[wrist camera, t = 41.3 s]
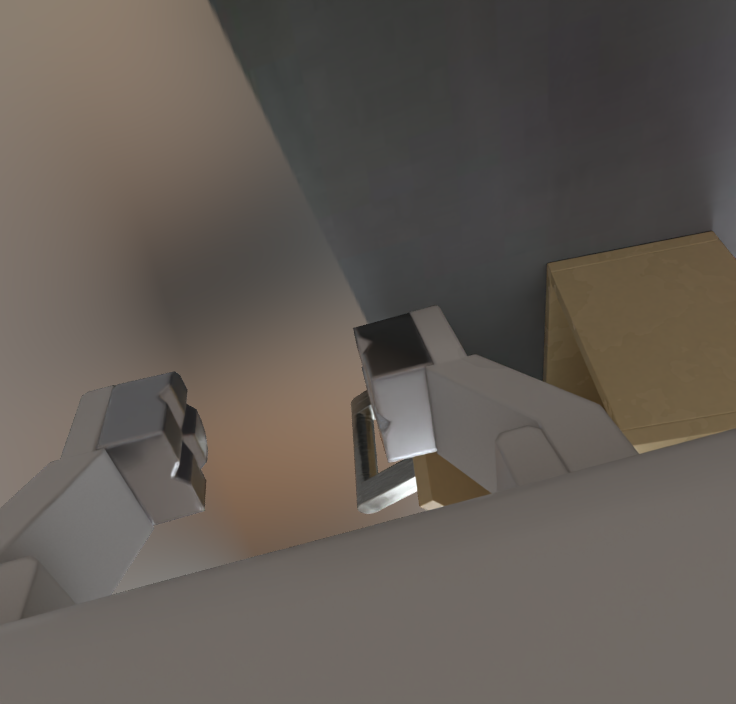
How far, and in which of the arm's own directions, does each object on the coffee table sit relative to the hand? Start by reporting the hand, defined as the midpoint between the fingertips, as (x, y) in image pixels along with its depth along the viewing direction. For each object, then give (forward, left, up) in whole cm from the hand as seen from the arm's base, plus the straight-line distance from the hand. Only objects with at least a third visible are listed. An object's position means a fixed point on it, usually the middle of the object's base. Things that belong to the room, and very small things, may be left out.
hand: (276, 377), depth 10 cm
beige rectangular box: (+17, -29, -24) cm, 42 cm away
